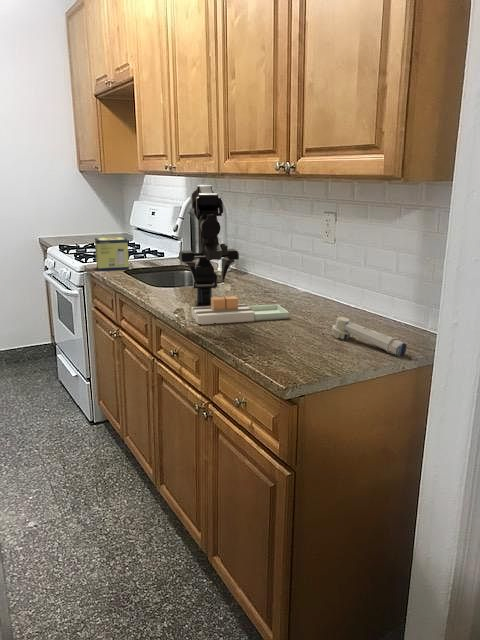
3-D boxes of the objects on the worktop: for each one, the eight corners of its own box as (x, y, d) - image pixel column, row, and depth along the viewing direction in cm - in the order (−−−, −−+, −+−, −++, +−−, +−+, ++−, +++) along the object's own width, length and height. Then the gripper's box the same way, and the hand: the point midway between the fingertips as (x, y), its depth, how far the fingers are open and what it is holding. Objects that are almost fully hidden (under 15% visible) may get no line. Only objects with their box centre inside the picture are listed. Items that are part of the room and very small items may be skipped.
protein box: (96, 268, 284) (94, 237, 280) (126, 266, 289) (125, 236, 285) (98, 271, 274) (96, 240, 270) (129, 269, 279) (128, 239, 275)
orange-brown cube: (211, 308, 187) (210, 297, 186) (222, 308, 188) (222, 296, 187) (213, 311, 183) (213, 300, 182) (225, 311, 184) (225, 299, 183)
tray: (245, 312, 195) (245, 306, 194) (277, 310, 198) (277, 304, 197) (255, 320, 184) (255, 314, 183) (289, 318, 187) (289, 312, 186)
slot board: (191, 315, 190) (191, 305, 189) (244, 312, 195) (244, 302, 194) (198, 324, 179) (198, 313, 178) (254, 320, 184) (254, 310, 183)
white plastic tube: (397, 344, 147) (330, 313, 165) (393, 367, 149) (327, 334, 167) (410, 341, 150) (342, 311, 168) (405, 363, 152) (339, 331, 170)
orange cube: (223, 308, 188) (223, 296, 187) (235, 307, 189) (235, 296, 188) (226, 310, 185) (226, 299, 183) (238, 310, 186) (238, 298, 184)
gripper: (184, 237, 166) (185, 288, 170) (244, 235, 171) (243, 285, 175) (177, 233, 176) (179, 281, 180) (234, 231, 181) (234, 278, 185)
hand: (209, 281), depth 180 cm, fingers open, 9 cm apart
